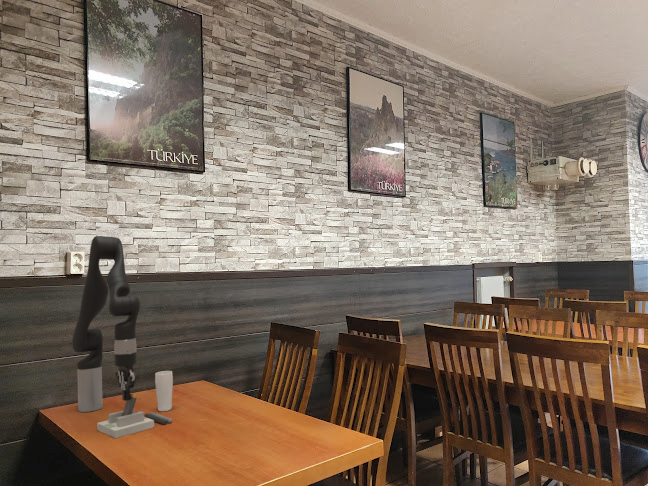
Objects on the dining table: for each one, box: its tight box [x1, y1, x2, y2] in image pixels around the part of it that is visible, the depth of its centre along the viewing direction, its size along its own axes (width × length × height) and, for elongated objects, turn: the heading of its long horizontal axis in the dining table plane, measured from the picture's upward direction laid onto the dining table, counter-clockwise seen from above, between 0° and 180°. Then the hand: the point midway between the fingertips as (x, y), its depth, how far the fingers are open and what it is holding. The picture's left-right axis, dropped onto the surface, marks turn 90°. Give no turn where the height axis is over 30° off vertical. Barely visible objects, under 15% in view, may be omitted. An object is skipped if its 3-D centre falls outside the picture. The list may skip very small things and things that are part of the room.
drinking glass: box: [154, 370, 174, 412], centre depth 199 cm, size 7×7×15 cm
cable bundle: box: [144, 411, 173, 425], centre depth 185 cm, size 16×4×2 cm, turn 47°
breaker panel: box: [96, 408, 155, 439], centre depth 176 cm, size 15×14×6 cm
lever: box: [121, 392, 139, 417], centre depth 177 cm, size 5×2×9 cm, turn 47°
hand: (126, 400), depth 177 cm, fingers closed
